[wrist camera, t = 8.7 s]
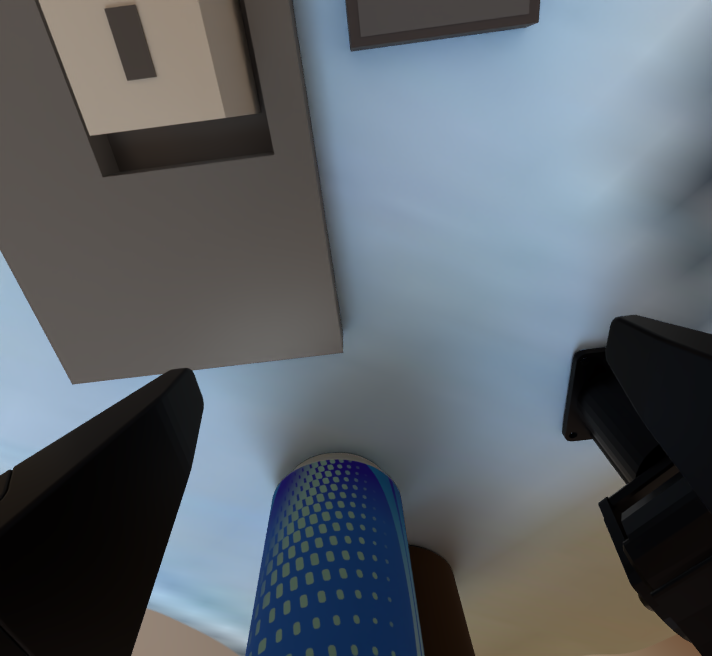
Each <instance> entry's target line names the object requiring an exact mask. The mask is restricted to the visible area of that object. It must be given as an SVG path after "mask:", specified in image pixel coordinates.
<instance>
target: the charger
mask: <svg viewBox="0 0 712 656" xmlns="http://www.w3.org/2000/svg"><path fill="white" fill-rule="evenodd" d="M39 3H40V6H41V8H42V11H43V13H44V16H45V19H46V21H47V24H48V27H49V29H50V32H51V35H52V37H53V40H54V42H55V45H56V48H57V50H58V53H59V56H60V58H61V61H62V64H63V66H64V69H65V71H66V74H67V77H68V79H69V82H70V85H71V87H72V90H73V93H74V95H75V98H76V100H77V103H78V106H79V108H80V111H81V114H82V116H83V119H84V122H85V124H86V127H87V129H88V132H89V135H90V136H92V135H100V134H107V133H115V132H122V131H130V130H137V129H145V128H153V127H160V126H168V125H175V124H183V123H191V122H198V121H206V120H213V119H221V118H228V117H236V116H243V115H250V114H257V113H261V111H260V106H259V101H258V96H257V91H256V86H255V81H254V76H253V71H252V66H251V61H250V56H249V51H248V45H247V40H246V35H245V30H244V25H243V20H242V15H241V10H240V5H239V0H39Z"/></svg>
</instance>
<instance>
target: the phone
mask: <svg viewBox="0 0 712 656" xmlns="http://www.w3.org/2000/svg"><path fill="white" fill-rule="evenodd" d="M345 2H346V12H347V21H348V31H349V41H350V50H351V51H359V50H366V49H373V48H380V47H388V46H395V45H402V44H409V43H417V42H424V41H431V40H438V39H446V38H453V37H460V36H467V35H475V34H482V33H489V32H496V31H504V30H511V29H518V28H526V27H528V26H531V25H533V24H536V23H538V22H539V9H540V0H345Z"/></svg>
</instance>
